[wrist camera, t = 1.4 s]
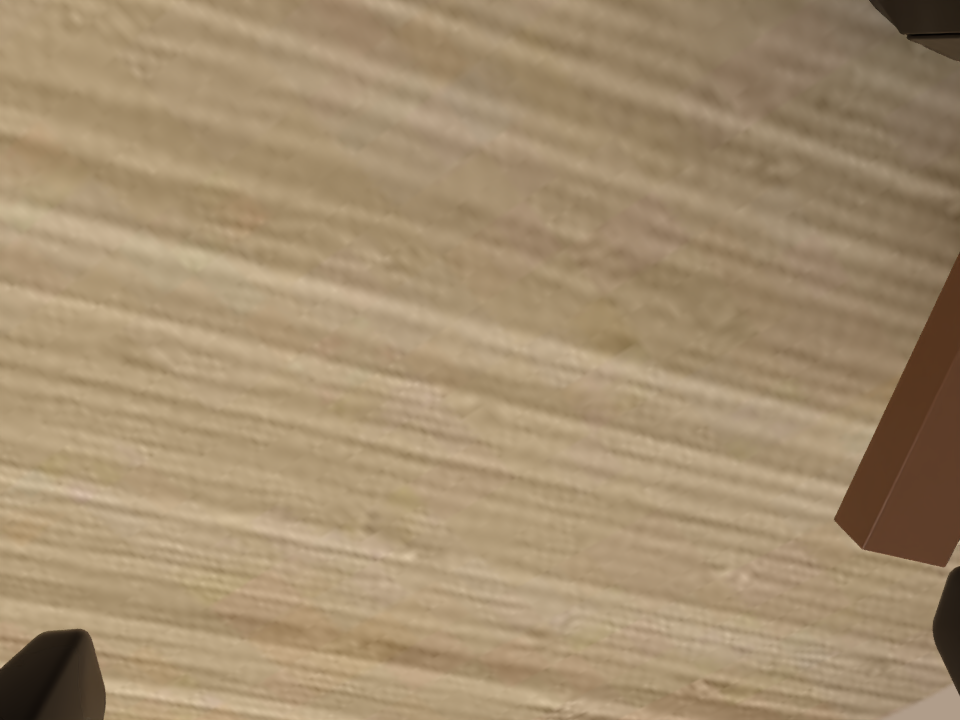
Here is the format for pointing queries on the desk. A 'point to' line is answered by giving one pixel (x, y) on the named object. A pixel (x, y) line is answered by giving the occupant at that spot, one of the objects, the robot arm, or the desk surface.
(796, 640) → the desk surface
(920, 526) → the saucepan
